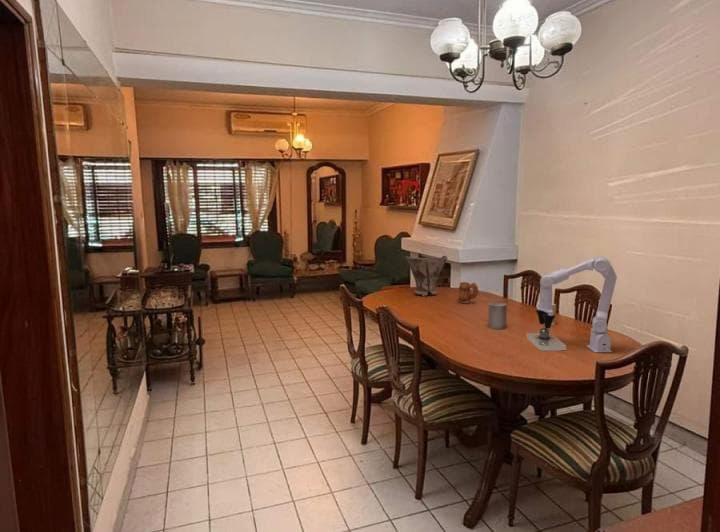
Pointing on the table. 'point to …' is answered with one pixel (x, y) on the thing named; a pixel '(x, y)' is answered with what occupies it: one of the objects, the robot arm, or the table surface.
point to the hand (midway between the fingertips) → (544, 326)
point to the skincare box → (553, 313)
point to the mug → (467, 292)
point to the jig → (546, 342)
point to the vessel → (426, 273)
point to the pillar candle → (497, 315)
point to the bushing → (544, 333)
